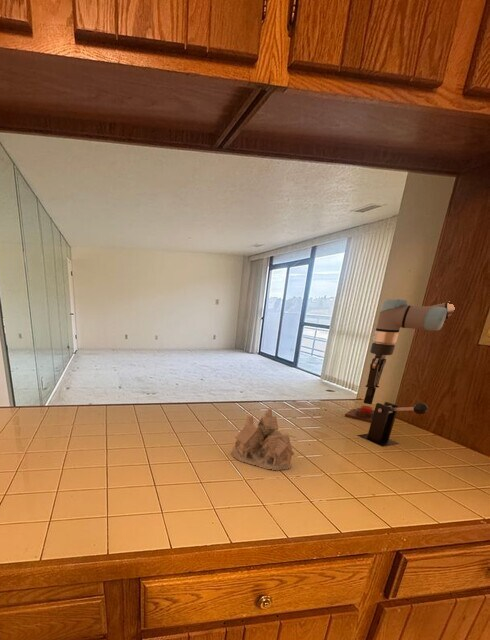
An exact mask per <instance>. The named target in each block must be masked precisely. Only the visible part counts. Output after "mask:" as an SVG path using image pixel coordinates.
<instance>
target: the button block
mask: <svg viewBox="0 0 490 640" xmlns="http://www.w3.org/2000/svg"><path fill="white" fill-rule="evenodd" d="M360 409H361V407H357V408H351V409H350V410H349V411H348V412H346V413H344V417H345V418H350V419H353V420H357V421H358V420H359V421H362V422H367V423H370V424H371V421H372V418H373V414H374V410H375V409H372V412H370V413H369V412H363V411H360Z"/></svg>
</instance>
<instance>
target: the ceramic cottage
mask: <svg viewBox="0 0 490 640" xmlns="http://www.w3.org/2000/svg"><path fill="white" fill-rule="evenodd" d="M277 418H278V417H277V416H276V415H273V410H272V408H269V407H268V408H267V411H265V413H264V416H261V418H260V419H259V420H258V421H259V422H258V424H257V426H256V425H254V415H251V414H248V415H247V417H246V419H245V423H244V426H243V428H242V429H241V430H240V431H239V433H238V434H237V435H236V436H235V437H234V438H235V439H236V441H235V442H234V446H233V447H232V449H231V452H230V455H231V454H232V455H231V456H232V457H233V458H234V457H235V458H234V459H235V460H237V461H239V462H241V463H244V462H245V464H247V465H251V464H252V465H251V466H254V465H256V466H255V467H258V466H259V468H261V467H263V468H262V469H264V468H267V469H272V470H271V471H273V470H276V471H279V470H280V471H281V470H284V469H285V470H289V469H291V468H292V464H291V460H292V457H293V456H294V455H295V452H294V451H293V447H292V443H291V440H290V436H289V433H283V434H282V432H281V431H279V422H278V420H277ZM290 467H291V468H290ZM288 468H289V469H288ZM267 469H266V470H267Z"/></svg>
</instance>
